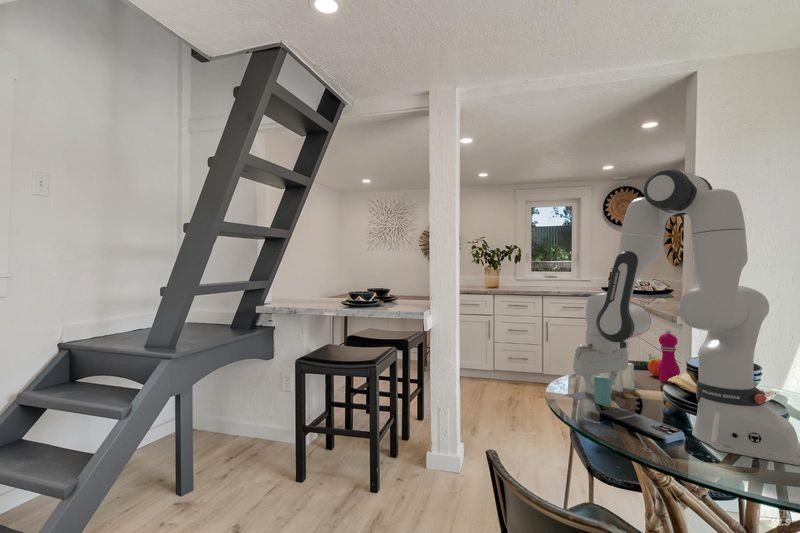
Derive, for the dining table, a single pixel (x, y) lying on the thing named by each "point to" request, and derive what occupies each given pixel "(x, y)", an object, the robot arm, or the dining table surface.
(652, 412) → the dining table surface
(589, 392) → the domino
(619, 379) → the domino
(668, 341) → the pepper mill
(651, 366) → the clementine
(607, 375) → the domino
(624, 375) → the domino
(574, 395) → the mat
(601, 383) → the domino
